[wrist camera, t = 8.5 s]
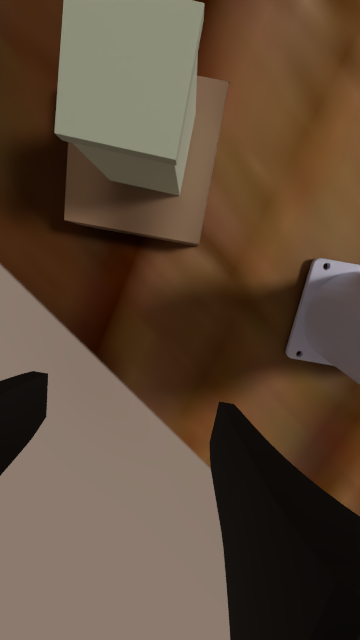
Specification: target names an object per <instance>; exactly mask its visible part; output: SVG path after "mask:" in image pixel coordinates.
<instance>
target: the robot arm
mask: <svg viewBox="0 0 360 640" xmlns="http://www.w3.org/2000/svg"><path fill="white" fill-rule="evenodd" d="M325 263H327V268H326V269H324V268H323V265H324V264H325ZM298 351H301V353H300V354H299V355H296V353H297V352H298ZM285 353H286V355H287V356H288V357H289V358H292V359H298V360H303V361H309V362H315V363H321V364H326V365H332V366H335V367H336V368H338V369H339V370H341V371H342V372H343V373H345V374H346V375H348V376H349V377H350V378H352V379H353V380H354V381H356V382H357V383H359V384H360V265H357V264H352V263H346V262H340V261H334V260H329V259H323V258H317V259H314V260H313V261H312V263H311V266H310V269H309V273H308V276H307V280H306V283H305V286H304V290H303V293H302V297H301V300H300V303H299V307H298V310H297V313H296V317H295V320H294V324H293V327H292V330H291V334H290V337H289V341H288V344H287V347H286V352H285ZM47 385H48V374H46V373H40V372H35V371H32V372H28V373H24V374H21V375H18V376H14V377H11V378H8V379H5V380H2V381H0V475H1V474H2V473H3V472H4V470H5V469H6V468H7V467H8V466H9V465H10V464H11V463H12V461H13V460H14V459H15V458H16V457H17V456H18V454H19V453H20V452H21V451H22V450H23V448H24V447H25V446H26V445H27V444H28V442H29V441H30V440H31V439H32V437H33V436H34V434H35V433H36V432H37V430H38V428H39V427H40V425H41V424H42V422H43V421H44V419H45V418H46V408H47ZM210 462H211V472H212V478H213V484H214V490H215V496H216V502H217V508H218V514H219V520H220V525H221V532H222V540H223V546H224V558H225V571H226V582H227V596H228V608H229V609H228V610H229V623H230V639H231V640H360V516H358V515H357V514H355V513H354V512H352V511H351V510H350V509H348V508H347V507H345V506H344V505H343V504H341V503H340V502H339V501H337V500H336V499H334V498H333V497H332V496H330V495H329V494H328V493H326V492H325V491H324V490H322V489H321V488H320V487H319V486H317V485H316V484H315V483H313V482H312V481H311V480H310V479H309V478H307V477H306V476H305V475H304V474H303V473H302V472H300V471H299V470H298V469H297V468H296V467H294V466H293V465H292V464H291V463H290V462H289V461H288V460H287V459H286V458H285V457H284V456H282V455H281V454H280V453H279V452H278V451H277V450H276V449H275V448H274V447H273V446H272V445H271V444H270V443H269V442H268V441H267V440H266V439H265V438H264V437H263V436H262V435H261V433H260V432H259V431H258V430H257V429H256V428H255V427H254V426H253V425H252V424H251V422H250V421H249V420H248V419H247V418H246V417H245V416H244V415H243V414H242V412H241V411H240V410H239V409H238V408H237V407H236V406H235V405H234V404H230V403H224V402H219V405H218V409H217V413H216V418H215V422H214V426H213V430H212V435H211V439H210Z"/></svg>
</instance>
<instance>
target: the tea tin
mask: <svg viewBox="0 0 360 640" xmlns="http://www.w3.org/2000/svg"><path fill="white" fill-rule="evenodd" d="M203 20H204V3H201V2H197V1H192V0H64V4H63V18H62V32H61V47H60V61H59V75H58V89H57V104H56V118H55V132H54V133H55V134H56V135H57V136H58V137H59V138H60V139H61V140H62V141H67V142H71V143H73V144H74V145H75V146H76V147H77V148H78V149H79V150H80V151H81V152H82V153H83V154H84V155H85V156H86V157H87V158H88V159H89V160H90V161H91V162H92V163H93V164H94V165H95V166H96V167H97V168H98V169H99V170H100V171H101V172H102V173H103V174H104V175H105V176H106V177H107V178H108V179H109V180H110V181H115V182H119V183H124V184H129V185H133V186H138V187H142V188H147V189H151V190H156V191H160V192H165V193H169V194H174V195H179V196H180V192H181V187H182V182H183V177H184V171H185V166H186V161H187V156H188V151H189V145H190V140H191V135H192V130H193V125H194V119H195V114H196V87H197V56H198V47H199V42H200V36H201V31H202V26H203Z"/></svg>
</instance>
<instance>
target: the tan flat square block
mask: <svg viewBox="0 0 360 640" xmlns="http://www.w3.org/2000/svg"><path fill="white" fill-rule="evenodd" d="M228 84H229V82H228V81H222V80H217V79H212V78H207V77H201V76H197V87H196V114H195V119H194V125H193V130H192V135H191V140H190V145H189V151H188V156H187V161H186V166H185V171H184V177H183V182H182V187H181V192H180V196H179V195H174V194H169V193H165V192H160V191H156V190H151V189H147V188H142V187H138V186H133V185H129V184H124V183H119V182H115V181H110V180H109V179H108V178H107V177H106V176H105V175H104V174H103V173H102V172H101V171H100V170H99V169H98V168H97V167H96V166H95V165H94V164H93V163H92V162H91V161H90V160H89V159H88V158H87V157H86V156H85V155H84V154H83V153H82V152H81V151H80V150H79V149H78V148H77V147H76V146H75V145H74V144H73V143H71V142H68V155H67V174H66V193H65V212H64V220H66V221H69V222H72V223H75V224H78V225H82V226H87V227H93V228H99V229H104V230H110V231H115V232H121V233H126V234H132V235H137V236H143V237H148V238H154V239H160V240H165V241H171V242H176V243H182V244H187V245H193V246H198V245H199V241H200V236H201V230H202V225H203V219H204V214H205V209H206V203H207V198H208V192H209V187H210V182H211V176H212V171H213V165H214V160H215V155H216V149H217V144H218V138H219V133H220V128H221V122H222V117H223V111H224V106H225V101H226V95H227V90H228Z"/></svg>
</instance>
